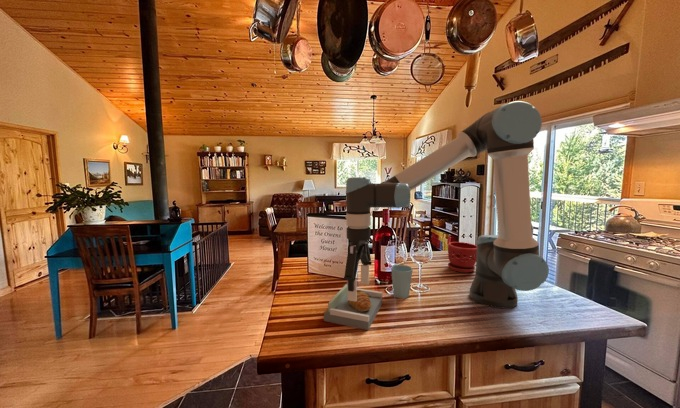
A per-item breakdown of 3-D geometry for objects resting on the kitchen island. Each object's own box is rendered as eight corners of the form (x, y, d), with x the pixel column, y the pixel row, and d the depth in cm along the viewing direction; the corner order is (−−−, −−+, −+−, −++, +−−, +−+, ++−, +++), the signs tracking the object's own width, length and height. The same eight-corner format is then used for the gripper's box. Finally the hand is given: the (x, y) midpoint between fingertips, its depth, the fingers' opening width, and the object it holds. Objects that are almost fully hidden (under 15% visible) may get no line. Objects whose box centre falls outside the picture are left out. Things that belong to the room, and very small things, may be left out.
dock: (382, 303, 97) (382, 288, 96) (368, 330, 80) (368, 311, 80) (344, 297, 102) (344, 282, 101) (323, 321, 85) (323, 303, 85)
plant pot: (465, 276, 123) (466, 249, 121) (441, 267, 134) (442, 243, 133) (483, 271, 129) (485, 245, 128) (459, 263, 140) (460, 240, 139)
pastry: (376, 311, 86) (376, 299, 86) (356, 315, 84) (356, 302, 84) (363, 298, 95) (363, 287, 95) (345, 301, 93) (345, 290, 92)
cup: (416, 297, 101) (417, 269, 100) (399, 301, 98) (399, 272, 97) (403, 289, 108) (404, 263, 107) (386, 293, 105) (387, 266, 104)
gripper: (359, 219, 101) (359, 276, 103) (331, 233, 78) (333, 306, 80) (379, 220, 98) (379, 279, 100) (357, 235, 75) (358, 311, 77)
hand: (359, 291), depth 90 cm, fingers open, 13 cm apart
